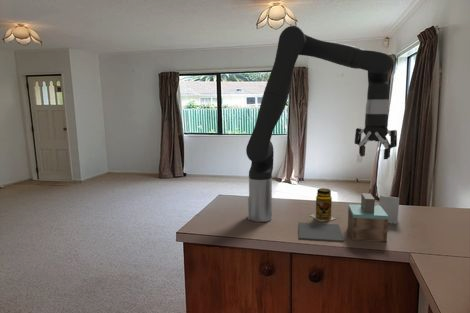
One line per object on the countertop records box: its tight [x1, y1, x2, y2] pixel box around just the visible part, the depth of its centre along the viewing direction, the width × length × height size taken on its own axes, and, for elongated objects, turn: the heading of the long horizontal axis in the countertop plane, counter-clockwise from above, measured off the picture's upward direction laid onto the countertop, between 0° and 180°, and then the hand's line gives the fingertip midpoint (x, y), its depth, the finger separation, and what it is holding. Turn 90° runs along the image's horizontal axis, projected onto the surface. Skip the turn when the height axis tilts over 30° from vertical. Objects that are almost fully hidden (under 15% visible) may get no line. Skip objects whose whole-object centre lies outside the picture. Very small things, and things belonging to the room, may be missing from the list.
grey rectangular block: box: [378, 195, 400, 225], centre depth 128 cm, size 4×7×10 cm, turn 59°
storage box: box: [347, 206, 389, 243], centre depth 115 cm, size 11×11×8 cm
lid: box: [348, 192, 388, 219], centre depth 114 cm, size 11×11×6 cm
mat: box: [298, 221, 345, 243], centre depth 119 cm, size 15×15×1 cm
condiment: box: [309, 187, 337, 223], centre depth 133 cm, size 7×8×12 cm
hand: (373, 157), depth 118 cm, fingers open, 8 cm apart
